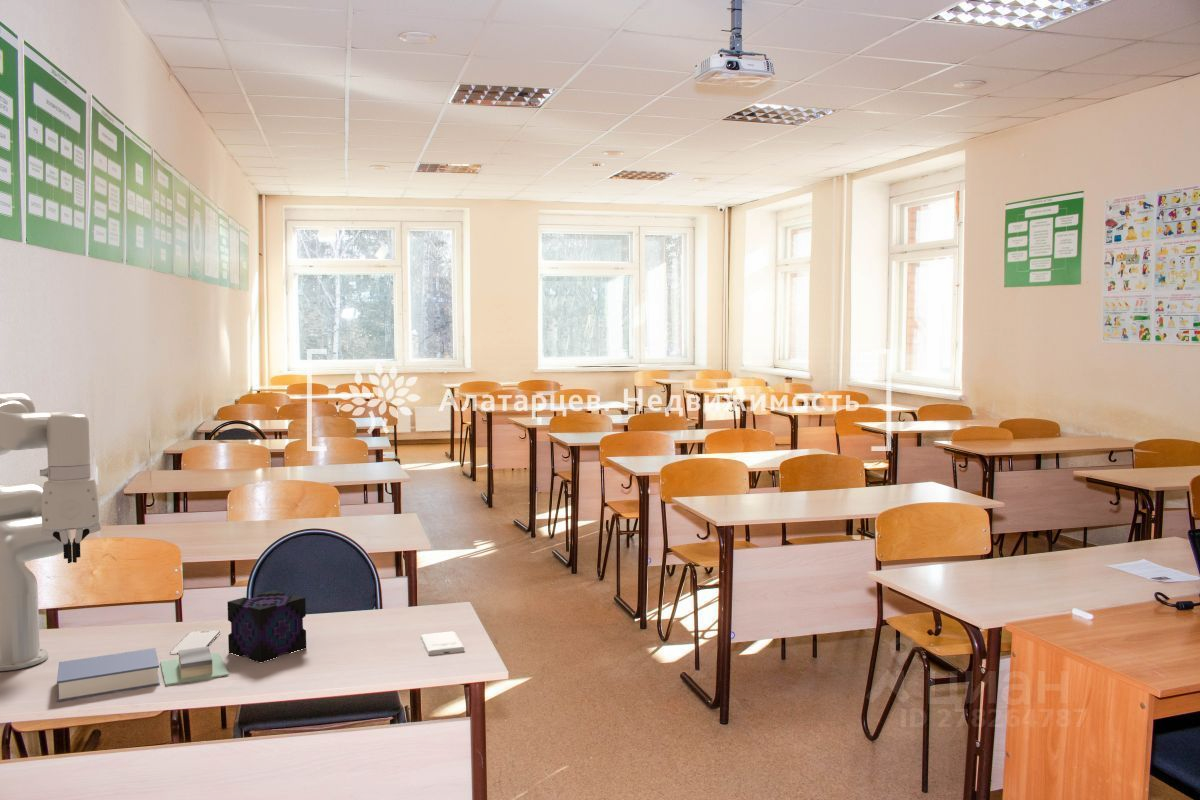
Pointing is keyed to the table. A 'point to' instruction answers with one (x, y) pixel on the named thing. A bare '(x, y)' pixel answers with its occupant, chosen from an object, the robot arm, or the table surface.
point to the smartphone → (195, 640)
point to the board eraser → (195, 662)
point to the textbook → (107, 674)
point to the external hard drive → (442, 643)
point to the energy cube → (266, 625)
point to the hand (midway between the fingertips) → (72, 561)
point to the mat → (174, 676)
